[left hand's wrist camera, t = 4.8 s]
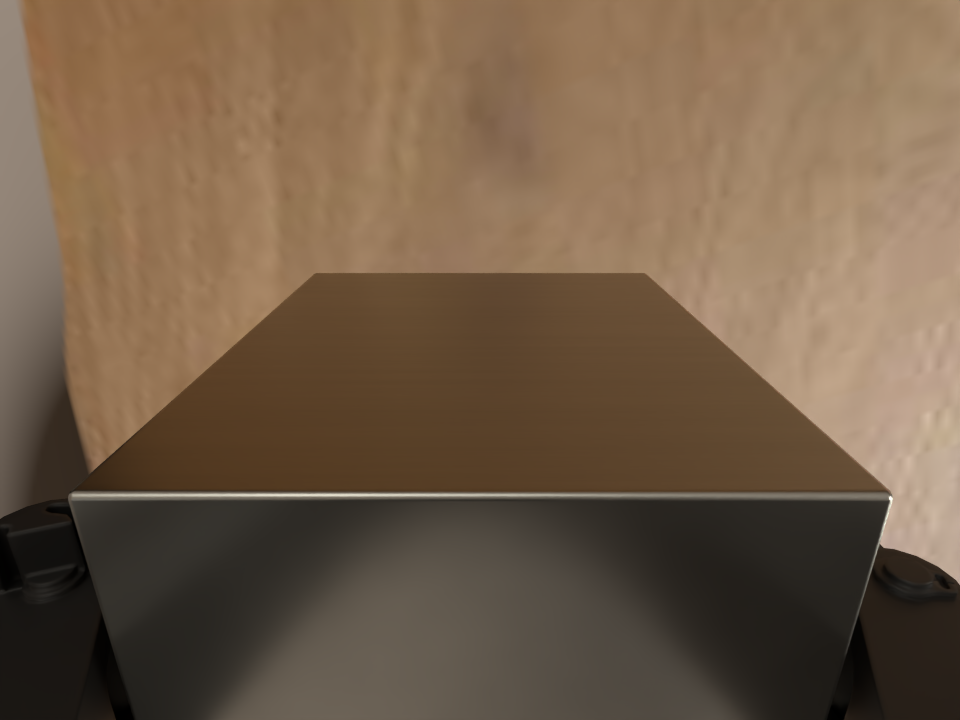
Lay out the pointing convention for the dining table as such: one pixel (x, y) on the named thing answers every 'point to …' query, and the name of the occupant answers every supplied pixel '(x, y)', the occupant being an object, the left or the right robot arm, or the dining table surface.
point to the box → (480, 516)
